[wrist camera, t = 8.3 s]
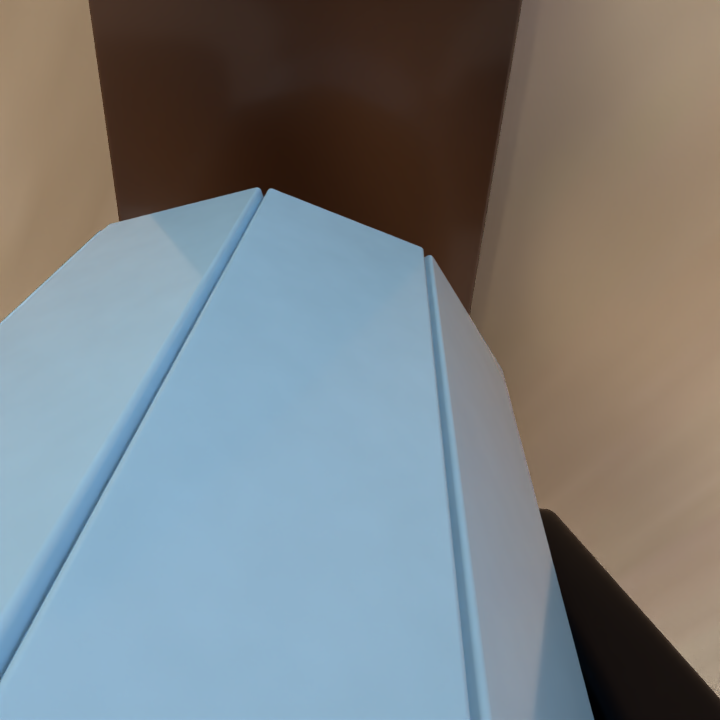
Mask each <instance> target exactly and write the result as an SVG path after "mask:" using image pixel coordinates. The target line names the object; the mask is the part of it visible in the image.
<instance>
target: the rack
mask: <svg viewBox="0 0 720 720" xmlns="http://www.w3.org/2000/svg"><path fill="white" fill-rule="evenodd" d="M521 5H522V0H89V6H90V14H91V21H92V28H93V35H94V42H95V49H96V57H97V64H98V71H99V78H100V85H101V92H102V100H103V107H104V114H105V121H106V128H107V135H108V143H109V150H110V157H111V164H112V171H113V178H114V186H115V193H116V200H117V207H118V214H119V221H124V220H128V219H132V218H136V217H140V216H144V215H148V214H152V213H156V212H160V211H164V210H168V209H172V208H176V207H180V206H184V205H188V204H192V203H196V202H200V201H204V200H208V199H212V198H216V197H220V196H224V195H228V194H232V193H236V192H240V191H244V190H248V189H252V188H256V187H257V188H260V189H261V191H262V194H263V197H264V196H265V194H266V192H267V190H268V189H275V190H277V191H280V192H282V193H285V194H287V195H290V196H292V197H295V198H297V199H300V200H302V201H305V202H308V203H310V204H313V205H315V206H318V207H320V208H323V209H325V210H328V211H330V212H333V213H336V214H338V215H341V216H343V217H346V218H348V219H351V220H353V221H356V222H358V223H361V224H363V225H366V226H369V227H371V228H374V229H376V230H379V231H381V232H384V233H386V234H389V235H391V236H394V237H397V238H399V239H402V240H404V241H407V242H409V243H412V244H414V245H417V246H419V247H422V248H423V249H424V257H426V256H428V255H431V256H433V258H434V259H435V261H436V262H437V264H438V266H439V267H440V269H441V271H442V272H443V274H444V275H445V277H446V279H447V280H448V282H449V284H450V285H451V287H452V288H453V290H454V292H455V293H456V295H457V297H458V298H459V300H460V301H461V303H462V305H463V306H464V308H465V310H466V311H467V313H468V314H469V315H470V309H471V303H472V297H473V291H474V285H475V279H476V273H477V267H478V261H479V255H480V249H481V243H482V237H483V232H484V226H485V220H486V214H487V208H488V202H489V196H490V190H491V184H492V178H493V172H494V166H495V160H496V154H497V148H498V142H499V136H500V130H501V124H502V118H503V112H504V106H505V100H506V94H507V88H508V82H509V76H510V70H511V64H512V58H513V52H514V46H515V41H516V35H517V29H518V23H519V17H520V11H521Z"/></svg>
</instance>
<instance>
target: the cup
mask: <svg viewBox="0 0 720 720" xmlns="http://www.w3.org/2000/svg"><path fill="white" fill-rule="evenodd" d="M0 720H594V717H593V713H592V710H591V706H590V702H589V698H588V694H587V691H586V687H585V683H584V679H583V675H582V671H581V668H580V664H579V660H578V656H577V652H576V649H575V645H574V641H573V637H572V633H571V629H570V626H569V622H568V618H567V614H566V610H565V607H564V603H563V599H562V595H561V591H560V587H559V584H558V580H557V576H556V572H555V568H554V565H553V561H552V557H551V553H550V549H549V545H548V542H547V538H546V534H545V530H544V526H543V523H542V519H541V515H540V511H539V507H538V503H537V500H536V496H535V492H534V488H533V484H532V481H531V477H530V473H529V469H528V465H527V461H526V458H525V454H524V450H523V446H522V442H521V439H520V435H519V431H518V427H517V423H516V419H515V416H514V412H513V408H512V404H511V400H510V397H509V393H508V389H507V385H506V381H505V377H504V374H503V370H502V368H501V366H500V365H499V363H498V362H497V360H496V358H495V357H494V355H493V353H492V352H491V350H490V349H489V347H488V345H487V344H486V342H485V340H484V339H483V337H482V336H481V334H480V332H479V331H478V329H477V327H476V326H475V324H474V323H473V321H472V319H471V318H470V316H469V314H468V313H467V311H466V310H465V308H464V306H463V305H462V303H461V301H460V300H459V298H458V297H457V295H456V293H455V292H454V290H453V288H452V287H451V285H450V284H449V282H448V280H447V279H446V277H445V275H444V274H443V272H442V271H441V269H440V267H439V266H438V264H437V262H436V261H435V259H434V258H433V256H431V255H428V256H426V257H424V249H423V248H422V247H419V246H417V245H414V244H412V243H409V242H407V241H404V240H402V239H399V238H397V237H394V236H391V235H389V234H386V233H384V232H381V231H379V230H376V229H374V228H371V227H369V226H366V225H363V224H361V223H358V222H356V221H353V220H351V219H348V218H346V217H343V216H341V215H338V214H336V213H333V212H330V211H328V210H325V209H323V208H320V207H318V206H315V205H313V204H310V203H308V202H305V201H302V200H300V199H297V198H295V197H292V196H290V195H287V194H285V193H282V192H280V191H277V190H275V189H268V190H267V192H266V194H265V196H264V197H263V194H262V191H261V189H260V188H257V187H256V188H252V189H248V190H244V191H240V192H236V193H232V194H228V195H224V196H220V197H216V198H212V199H208V200H204V201H200V202H196V203H192V204H188V205H184V206H180V207H176V208H172V209H168V210H164V211H160V212H156V213H152V214H148V215H144V216H140V217H136V218H132V219H128V220H124V221H120V222H116V223H112V224H109V225H108V226H107V227H105V228H104V229H103V230H102V231H99V232H97V233H96V234H95V235H94V236H93V237H92V238H91V239H90V240H89V241H88V242H87V243H86V244H84V245H83V246H82V247H81V248H80V249H79V250H78V251H77V252H76V253H75V254H74V255H73V256H71V257H70V258H69V259H68V260H67V261H66V262H65V263H64V264H63V265H62V266H61V267H60V268H59V269H57V270H56V271H55V272H54V273H53V274H52V275H51V276H50V277H49V278H48V279H47V280H46V281H44V282H43V283H42V284H41V285H40V286H39V287H38V288H37V289H36V290H35V291H34V292H33V293H32V294H30V295H29V296H28V297H27V298H26V299H25V300H24V301H23V302H22V303H21V304H20V305H19V306H17V307H16V308H15V309H14V310H13V311H12V312H11V313H10V314H9V315H8V316H7V317H6V318H4V319H3V320H2V321H1V322H0Z"/></svg>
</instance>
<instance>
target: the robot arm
mask: <svg viewBox="0 0 720 720" xmlns="http://www.w3.org/2000/svg"><path fill="white" fill-rule="evenodd" d="M539 511H540V515H541V519H542V523H543V526H544V530H545V534H546V538H547V542H548V545H549V549H550V553H551V557H552V561H553V565H554V568H555V572H556V576H557V580H558V584H559V587H560V591H561V595H562V599H563V603H564V607H565V610H566V614H567V618H568V622H569V626H570V629H571V633H572V637H573V641H574V645H575V649H576V652H577V656H578V660H579V664H580V668H581V671H582V675H583V679H584V683H585V687H586V691H587V694H588V698H589V702H590V706H591V710H592V713H593V717H594V720H720V698H719V697H718V696H717V695H716V694H715V693H714V691H713V690H712V689H711V688H710V687H709V686H708V685H707V684H706V682H705V681H704V680H703V679H702V678H701V677H700V676H699V675H698V673H697V672H696V671H695V670H694V669H693V668H692V667H691V666H690V665H689V663H688V662H687V661H686V660H685V659H684V658H683V657H682V656H681V654H680V653H679V652H678V651H677V650H676V649H675V648H674V647H673V645H672V644H671V643H670V642H669V641H668V640H667V639H666V638H665V636H664V635H663V634H662V633H661V632H660V631H659V630H658V629H657V627H656V626H655V625H654V624H653V623H652V622H651V621H650V620H649V618H648V617H647V616H646V615H645V614H644V613H643V612H642V611H641V609H640V608H639V607H638V606H637V605H636V604H635V603H634V602H633V600H632V599H631V598H630V597H629V596H628V595H627V594H626V593H625V591H624V590H623V589H622V588H621V587H620V586H619V585H618V584H617V582H616V581H615V580H614V579H613V578H612V577H611V576H610V575H609V573H608V572H607V571H606V570H605V569H604V568H603V567H602V566H601V564H600V563H599V562H598V561H597V560H596V559H595V558H594V557H593V555H592V554H591V553H590V552H589V551H588V550H587V549H586V548H585V546H584V545H583V544H582V543H581V542H580V541H579V540H578V539H577V537H576V536H575V535H574V534H573V533H572V532H571V531H570V530H569V528H568V527H567V526H566V525H565V524H564V523H563V522H562V521H561V519H560V518H559V517H558V516H557V515H556V514H555V513H554V512H552V511H551V510H548V509H540V508H539Z"/></svg>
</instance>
